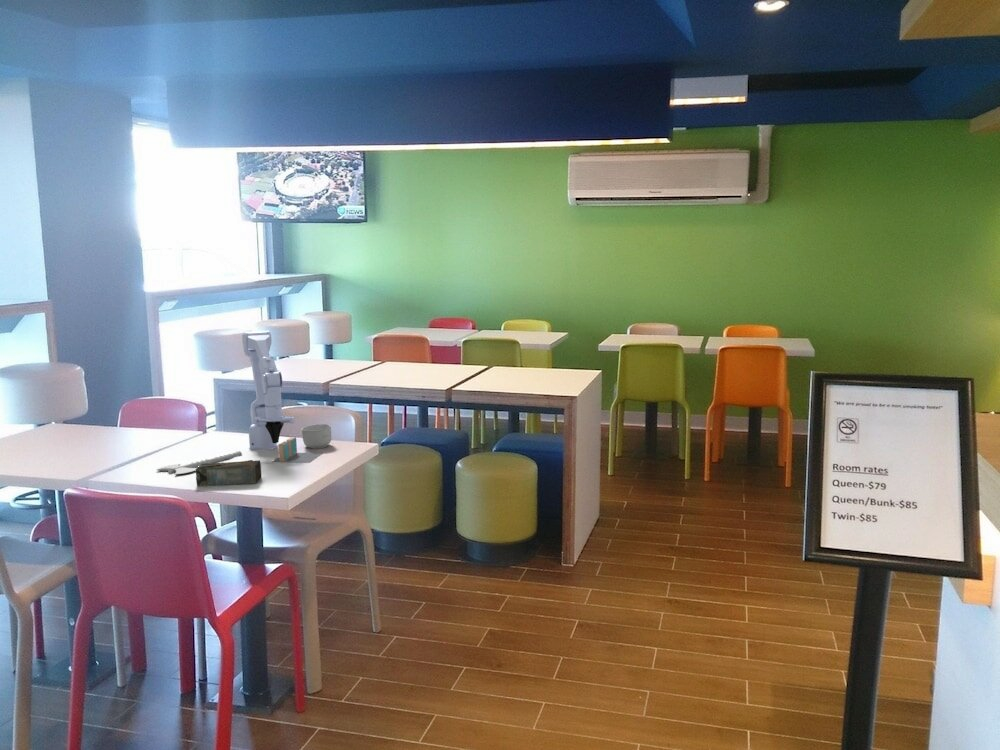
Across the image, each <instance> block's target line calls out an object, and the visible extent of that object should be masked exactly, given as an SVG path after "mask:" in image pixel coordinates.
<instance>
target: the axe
mask: <svg viewBox="0 0 1000 750" xmlns="http://www.w3.org/2000/svg"><path fill="white" fill-rule="evenodd" d="M240 456H243V454H242V451H241V450H238V451H235V452H232V453H228V454H223V455H219V456H216V457H212V458H206V459H204V460H203V459H201V460H200V461H195V462H191V463H186V464H184V465H183V464H182V465H181V463H179V464H178V463H177V464H171V465H166V466H162V467H159V468H157V469H156V471H162V472H163V471H164V472H168V473H169V474H173V473H172V472H174V476H175V475H184V474H188V473H193V472H196V468H198V466H199V465H201V464H205V463H213V462H215V463H219V462H223V461H226V460H225V459H227V460H230V459H229V458H231V459H233V458H235V457H240ZM222 460H223V461H222ZM218 461H219V462H218ZM194 467H195V468H194Z"/></svg>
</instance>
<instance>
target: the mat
mask: <svg viewBox="0 0 1000 750" xmlns="http://www.w3.org/2000/svg"><path fill="white" fill-rule="evenodd" d="M322 455H324V453H323V452H297V454H295V455H294V456H292V457H289V459H287V460H286V461H284V462H283V461H279V456H278V457H277V458H275V459H274V460H271V463H289V464H290V463H293V464H294V463H295V464H297V463H300V464H305V463H306V464H310V463H312V462H313V461H315V460H316V459H317V458H319V457H321V456H322Z"/></svg>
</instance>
